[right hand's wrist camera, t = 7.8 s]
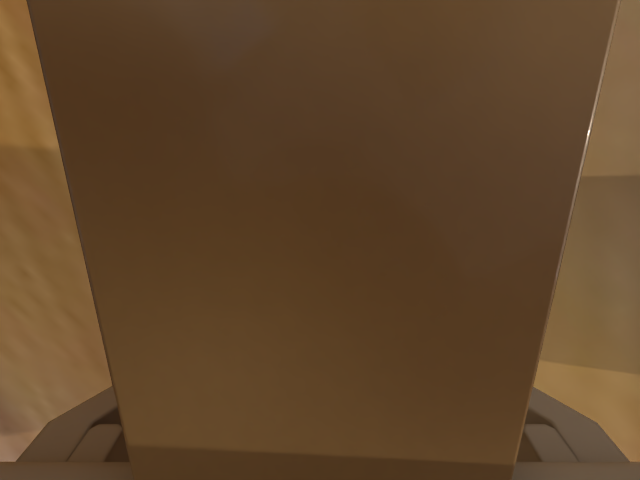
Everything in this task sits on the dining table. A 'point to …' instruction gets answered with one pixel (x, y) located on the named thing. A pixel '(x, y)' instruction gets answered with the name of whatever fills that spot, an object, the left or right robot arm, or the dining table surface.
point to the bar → (323, 222)
